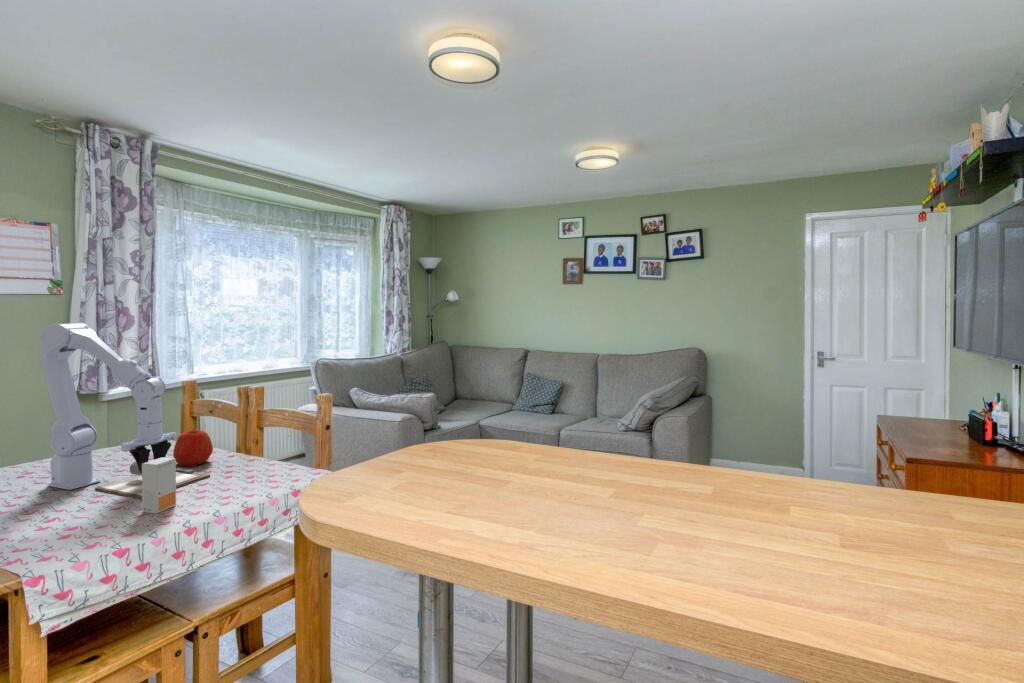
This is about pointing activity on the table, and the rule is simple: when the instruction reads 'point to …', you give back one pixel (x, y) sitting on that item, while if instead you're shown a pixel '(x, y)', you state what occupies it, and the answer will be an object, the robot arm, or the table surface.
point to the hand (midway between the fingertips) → (151, 470)
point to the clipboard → (134, 484)
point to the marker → (135, 469)
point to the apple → (192, 448)
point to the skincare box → (158, 485)
